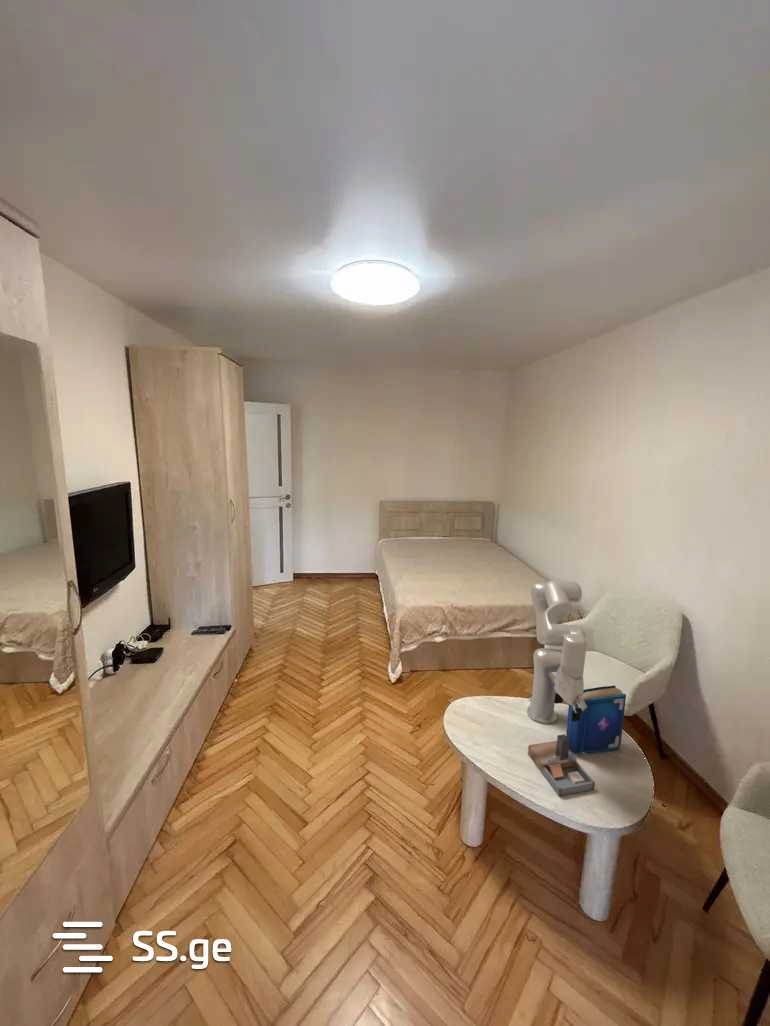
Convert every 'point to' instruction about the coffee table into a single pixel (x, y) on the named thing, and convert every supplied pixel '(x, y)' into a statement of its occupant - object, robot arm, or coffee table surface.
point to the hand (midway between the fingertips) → (566, 711)
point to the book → (597, 721)
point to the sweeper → (561, 752)
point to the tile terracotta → (556, 770)
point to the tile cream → (575, 777)
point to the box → (565, 785)
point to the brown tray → (546, 755)
